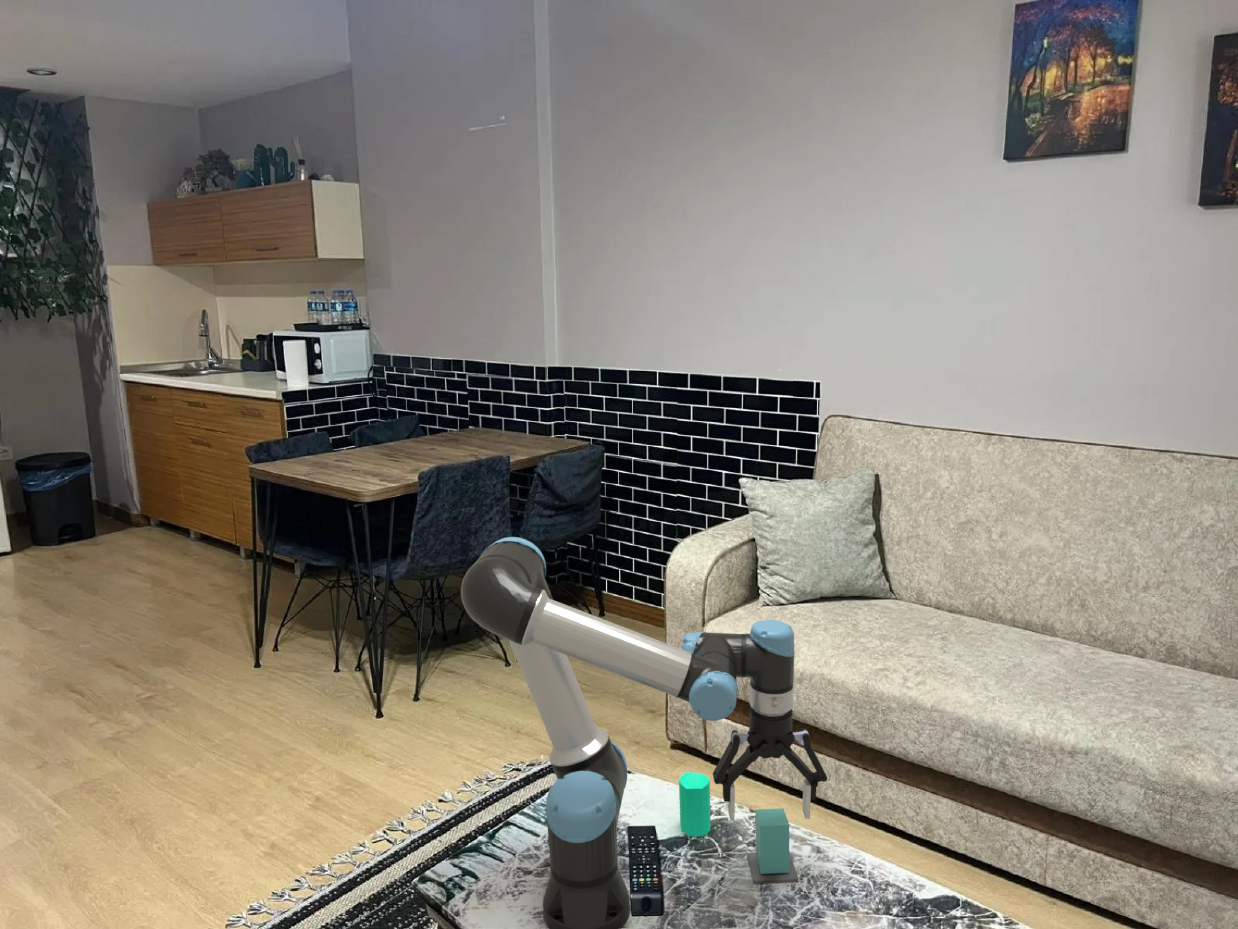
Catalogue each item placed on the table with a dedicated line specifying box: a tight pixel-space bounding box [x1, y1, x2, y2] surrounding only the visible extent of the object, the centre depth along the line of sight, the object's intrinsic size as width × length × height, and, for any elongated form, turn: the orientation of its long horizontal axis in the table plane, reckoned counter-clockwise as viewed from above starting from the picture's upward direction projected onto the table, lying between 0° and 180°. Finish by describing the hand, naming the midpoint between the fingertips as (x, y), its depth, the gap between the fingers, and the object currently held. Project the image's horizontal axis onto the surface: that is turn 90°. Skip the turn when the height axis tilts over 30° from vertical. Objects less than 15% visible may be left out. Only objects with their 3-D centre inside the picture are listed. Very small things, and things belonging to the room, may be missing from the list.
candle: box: [678, 771, 712, 838], centre depth 181 cm, size 6×6×12 cm
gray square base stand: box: [746, 850, 799, 885], centre depth 168 cm, size 8×8×10 cm
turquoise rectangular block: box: [754, 807, 790, 874], centre depth 167 cm, size 5×5×10 cm
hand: (768, 815), depth 167 cm, fingers open, 13 cm apart
